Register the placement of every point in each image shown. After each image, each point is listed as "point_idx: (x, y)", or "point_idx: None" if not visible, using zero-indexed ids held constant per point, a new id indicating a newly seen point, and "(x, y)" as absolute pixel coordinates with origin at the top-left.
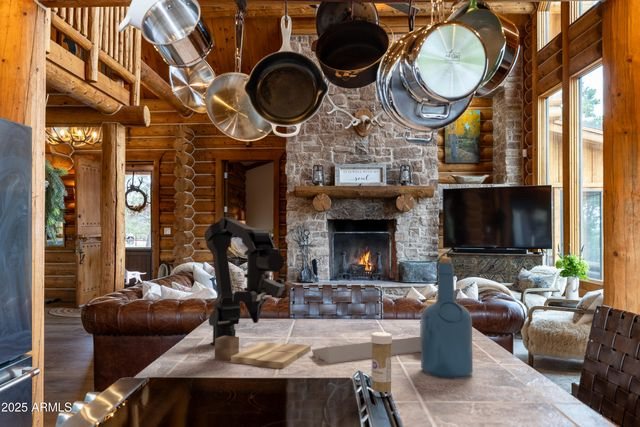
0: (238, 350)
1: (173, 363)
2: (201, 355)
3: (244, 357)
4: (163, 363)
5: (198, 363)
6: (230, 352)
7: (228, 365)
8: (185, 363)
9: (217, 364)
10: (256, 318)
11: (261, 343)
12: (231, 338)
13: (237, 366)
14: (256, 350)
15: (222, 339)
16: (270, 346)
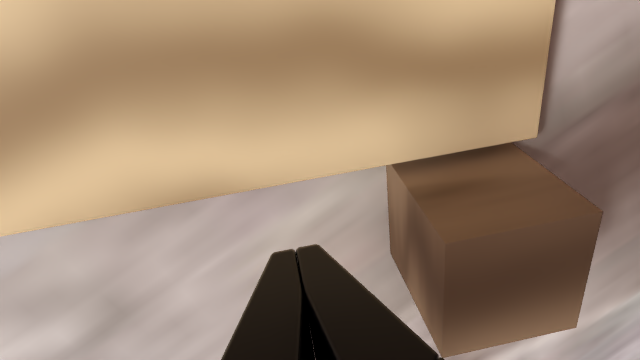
0: (405, 180)
1: (599, 328)
2: (426, 341)
3: (546, 25)
4: (605, 354)
5: None
6: (534, 161)
7: (591, 83)
8: (590, 292)
9: (581, 155)
10: (357, 286)
11: (39, 207)
12: (535, 247)
13: (606, 11)
14: (294, 84)
15: (586, 276)
16: (79, 62)
